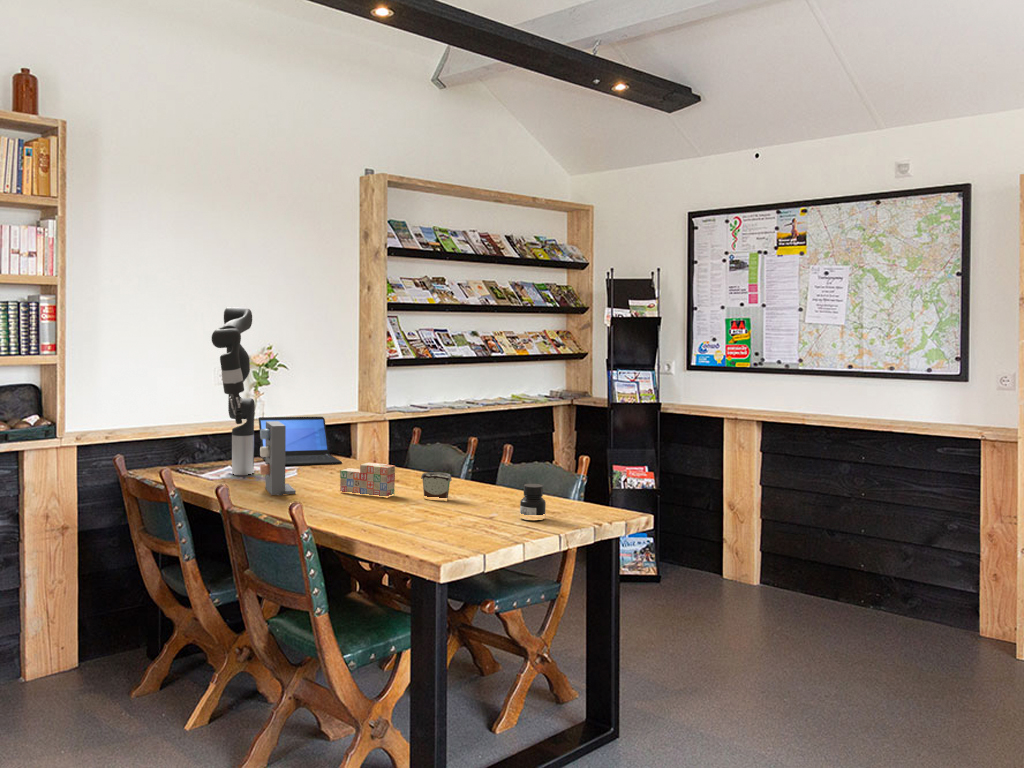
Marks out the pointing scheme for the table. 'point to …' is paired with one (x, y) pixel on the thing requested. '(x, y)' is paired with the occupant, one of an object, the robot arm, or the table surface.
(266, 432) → the slate button
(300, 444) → the laptop
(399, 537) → the table surface
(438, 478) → the food container
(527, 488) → the ink bottle
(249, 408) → the robot arm
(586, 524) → the table surface
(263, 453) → the cream button
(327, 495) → the table surface
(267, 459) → the grey upright post stand
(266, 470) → the terracotta button
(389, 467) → the stack of blocks
